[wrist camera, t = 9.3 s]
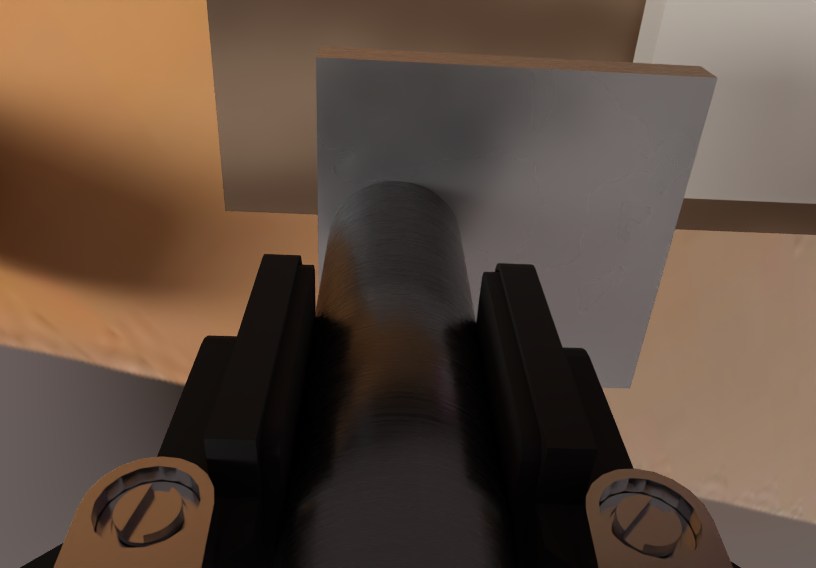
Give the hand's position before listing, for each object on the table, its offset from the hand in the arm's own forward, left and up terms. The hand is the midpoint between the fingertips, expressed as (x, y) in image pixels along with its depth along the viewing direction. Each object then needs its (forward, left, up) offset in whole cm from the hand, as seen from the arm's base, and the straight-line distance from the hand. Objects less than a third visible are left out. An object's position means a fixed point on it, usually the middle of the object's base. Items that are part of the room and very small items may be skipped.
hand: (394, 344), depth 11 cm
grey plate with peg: (0, -2, -4) cm, 5 cm away
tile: (0, -9, -18) cm, 20 cm away
